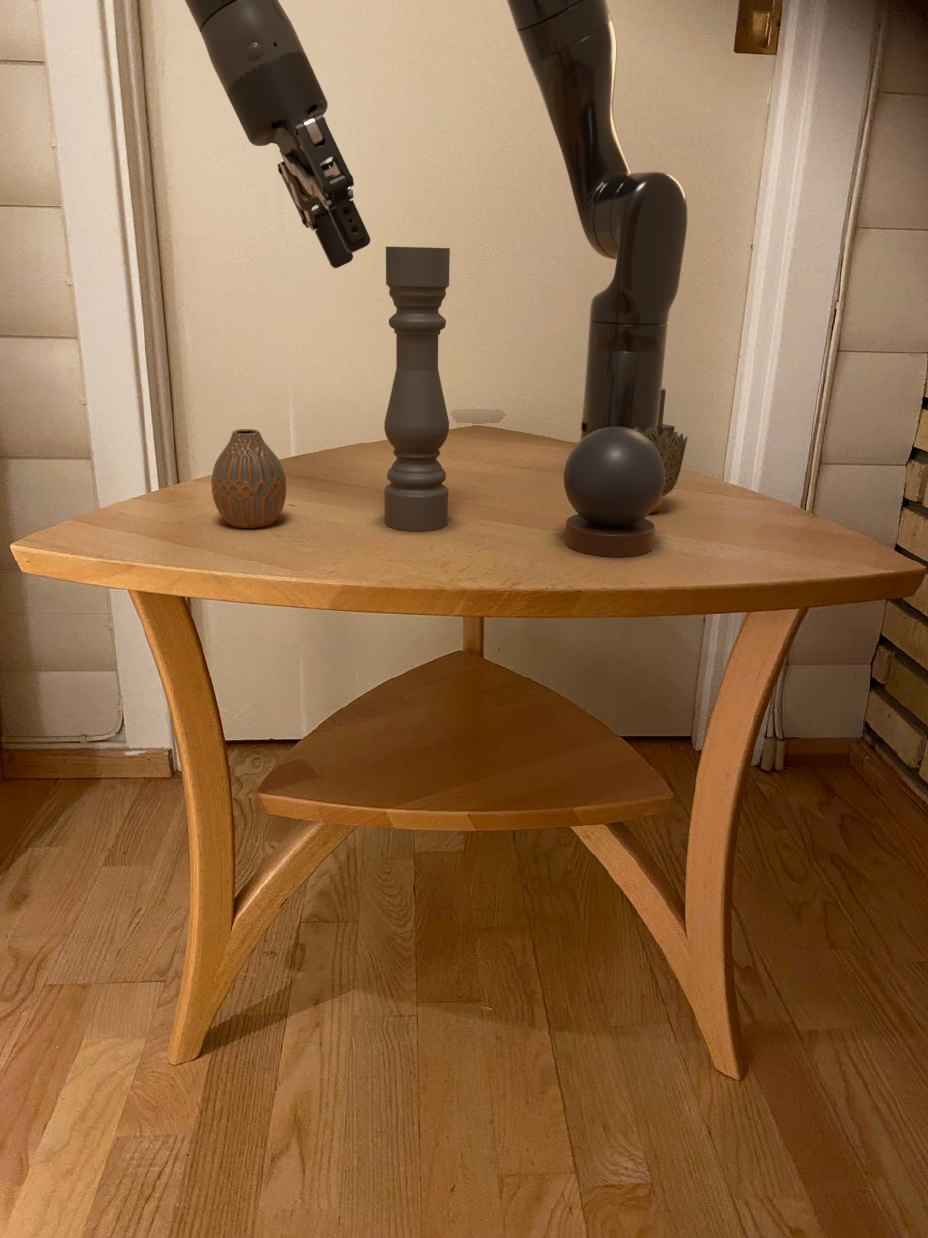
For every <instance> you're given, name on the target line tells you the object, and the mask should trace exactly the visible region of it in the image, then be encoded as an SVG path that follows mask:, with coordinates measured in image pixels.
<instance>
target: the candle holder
mask: <svg viewBox="0 0 928 1238" xmlns="http://www.w3.org/2000/svg"><path fill="white" fill-rule="evenodd" d="M450 253H451V248H450V247H423V246H385V285H386V286H388V288H389V289H388V290H389V291H388V295H389V297H390V298H391V299H392V302H393V306H394V307H395V309H396V312H395V313H394V314H393V315H391V316H390V317H389V318H388V325H389V327H390V328H391V329H393V331H394V334H395V335H396V340H395V342H396V346H395V347H396V348H395V349H396V353H395V355H396V356H395V357H396V358H395V359H396V361H395V364H396V368H395V373H394V376H393V382H392V386H391V391H390V396H389V401H388V405H387V410H386V413H385V419H384V424H383V425H384V426H383V427H384V433H385V436H386V438H387V441H388V442H389V444H390V445H391V446H392V448H393V451H392V453H393V455H394V456H395V457H396V459H395V460H394V461H393V463H392V464H391V467H390V468H389V469H388V470H387V473H386V479H387V480H388V481H389V482H390V483H389V484H387V485H385V487H384V500H383V501H384V525H386V526H387V527H389V528H392V529H394V530H399V531H406V532H429V531H430V532H431V531H435V530H439V529H440V530H441V529H443V528H445V527H446V526H448V521H449V519H448V518H449V487H447V486H446V485H444V484H443V483H444V482H445V481H446V479H447V472H446V470H445V469H444V468H443V466H442V464H441V463H440V462H439V461H438V457H439V456H440V455H441V451H440V449H441V448H442V447H443V445H444V444H445V442H446V440H447V438H448V435H449V431H450V420H449V415H448V411H447V406H446V405H447V404H446V401H445V396H444V391H443V386H442V381H441V375H440V371H439V336H440V335H441V331H442V330H444V329H445V328H446V325H447V320H446V318H445V317H444V316H443V315H441V314H440V313H439V311H440V310H439V309H440V308H441V307H442V304H443V300H444V299H445V298H446V296H447V288H449V287H450V260H451V257H450V255H451V254H450Z"/></svg>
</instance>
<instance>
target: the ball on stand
mask: <svg viewBox="0 0 928 1238" xmlns="http://www.w3.org/2000/svg"><path fill="white" fill-rule="evenodd" d="M664 485H665V467H664V463H663V460H662V457H661V455H660V453H659V451H658V449H657V448H656V447H655V445H654V444H653V443H652V442H651V441H650V440H649V439H648V438H647V437H645V436H644V435H643V434H641V433H639V432H637V431H635V430H632V429H629V428H625V427H606V428H602V429H599V430H596V431H594V432H592V433H590V434H588V435H587V436H585V437H584V438H583V439H582V440H581V439H580V441H579V442H577V443H576V445H575V446H574V447H573V448H572V449H571V451H570V453H569V455H568V457H567V460H566V462H565V466H564V471H563V486H564V487H563V488H564V491H565V495H566V497H567V499H568V502H569V503H570V505H571V507H572V508H573V510H574V511H575V512H576V513H577V514H573V515H571V516H569V517H568V518H567V519H566V522H565V537H564V538H565V539H564V542H565V545H566V546H567V547H569V549H572V550H574V551H577V552H579V553H582V554H587V555H592V556H597V557H605V558H606V557H608V558H628V557H629V558H630V557H637V556H641V555H645V554H647V553H649V552H651V551H652V550H653V548H654V539H655V530H656V526H655V524H654V522H652V521H651V520H649V519H647V518H646V517H647V516H648V515H649V514H651V513H650V512H651V511H652V510H653V509H654V508H655V506H656V505H657V503H658V502H659V500H660V499H661V498H662V497H661V496H662V493H663V490H664Z"/></svg>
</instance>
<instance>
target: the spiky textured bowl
mask: <svg viewBox="0 0 928 1238" xmlns="http://www.w3.org/2000/svg"><path fill="white" fill-rule="evenodd" d="M633 430H635V431H637V432H639V433H641V430H640V429H639V428H638V427H636V428H634V429H633ZM641 434H643V435H644V436H645V437H647V438H648V439H649V440H650V441H651V442H652V443H653V444H654V445H655V447H656V448H657V449H658V451H659V453H660V455H661V457H662V460H663V463H664V467H665V485H664V490H663V493H662V496H661V498H663V497H665V496H667V495H669V493H671V492H672V491H673V489H674V488H675V486H676V485H677V482H678V479H679V476H680V472H681V469H682V464H683V460H684V456H685V451H686V447H687V441H688V435H686V436H685V437H684V434H683V433H680V435H679V432H678V431H674V433H673V434H672V435H671V437H670V439H669V436H668V430H666V431H664V432H662V436H660V435H659V434H658V432H657V431H656V430H655V429H654V428H649V429H646V430H645V431H643V432H642V433H641ZM661 498H660V500H659V502H658V503H657V505H656V506H655V508H654V509H653V510H652V511H651V512H650V513H649V514H654V513H657V512H658V511H660V510H661V507H662V499H661Z"/></svg>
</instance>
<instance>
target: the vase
mask: <svg viewBox="0 0 928 1238" xmlns="http://www.w3.org/2000/svg"><path fill="white" fill-rule="evenodd" d="M210 483H211V484H210V485H211V494H212V499H213V502H214V505H215V507H216V510H217V512H218V514H219V515H220V517H222V519H224V520H225V522H227V523H228V524H229V525H231V527H234V528H235V527H236V528H241V529H259V528H264V527H268V526H270V525H272V524H273V523H274V522H275V521H276V520H277V519H278V517H279V516H281V514H282V512H283V509H284V507H285V503H286V499H287V479H286V474H285V470H284V467H283V465H282V463H281V461H280V459H279V458H278V456H277V455H276V454H275V453H274V451H273V449H271V448H270V447H269V445H268V444H267V443H266V442H265V440H264V438H263V436H262V434H261V432H260V431H259V430H258V429H252V428H242V429H235V430H233V431H232V433H231V436H230V439H229V441H228V442H227V444H226V446H225V447H224V448H223V450H222V451H221V453H220V454H219V456H218V457H217V459H216V461H215V462H214V466H213V469H212V474H211V481H210Z"/></svg>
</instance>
